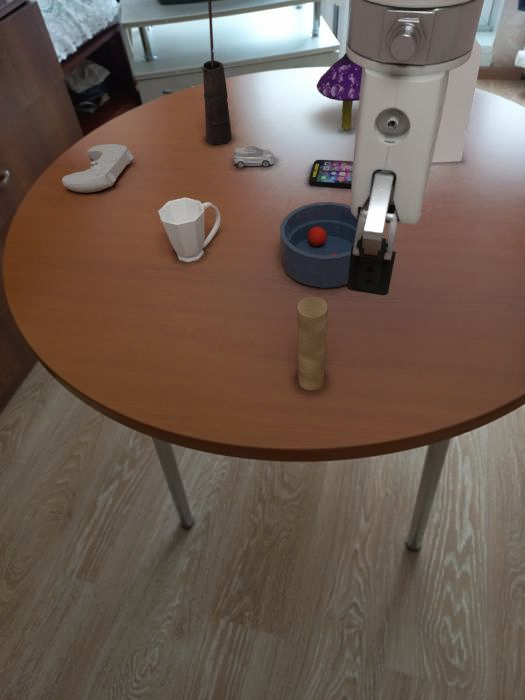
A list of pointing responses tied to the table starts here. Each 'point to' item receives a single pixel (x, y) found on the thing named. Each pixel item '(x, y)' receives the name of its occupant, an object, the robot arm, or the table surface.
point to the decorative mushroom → (342, 86)
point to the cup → (187, 226)
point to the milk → (457, 109)
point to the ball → (317, 236)
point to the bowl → (316, 261)
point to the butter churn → (215, 97)
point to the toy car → (253, 157)
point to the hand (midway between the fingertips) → (376, 251)
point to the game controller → (100, 169)
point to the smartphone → (331, 173)
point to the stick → (311, 342)
